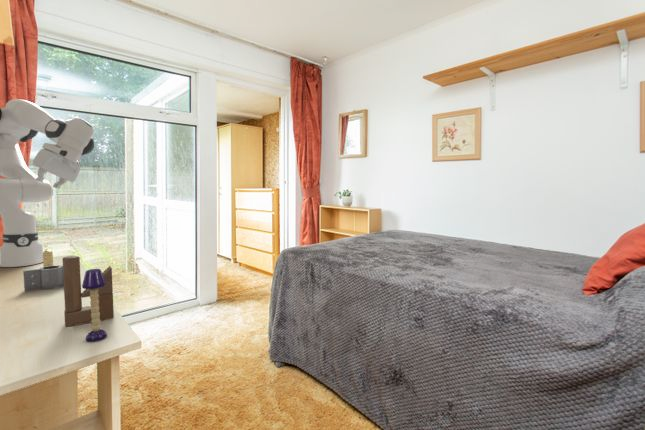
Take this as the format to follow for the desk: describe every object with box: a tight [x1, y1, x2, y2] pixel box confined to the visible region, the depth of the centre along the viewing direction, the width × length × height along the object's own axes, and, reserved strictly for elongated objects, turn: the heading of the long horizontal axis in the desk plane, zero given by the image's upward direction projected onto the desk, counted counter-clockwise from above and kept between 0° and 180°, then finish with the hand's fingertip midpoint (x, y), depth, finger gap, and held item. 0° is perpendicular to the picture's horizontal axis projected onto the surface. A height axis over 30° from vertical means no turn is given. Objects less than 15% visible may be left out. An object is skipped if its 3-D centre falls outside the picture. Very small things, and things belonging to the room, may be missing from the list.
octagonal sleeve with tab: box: [22, 264, 64, 292], centre depth 120 cm, size 6×15×7 cm, turn 139°
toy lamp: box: [81, 268, 108, 343], centre depth 80 cm, size 5×5×17 cm
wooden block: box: [62, 255, 115, 328], centre depth 90 cm, size 4×11×18 cm, turn 128°
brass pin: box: [42, 249, 54, 267], centre depth 131 cm, size 3×3×11 cm
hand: (47, 184), depth 133 cm, fingers open, 8 cm apart
